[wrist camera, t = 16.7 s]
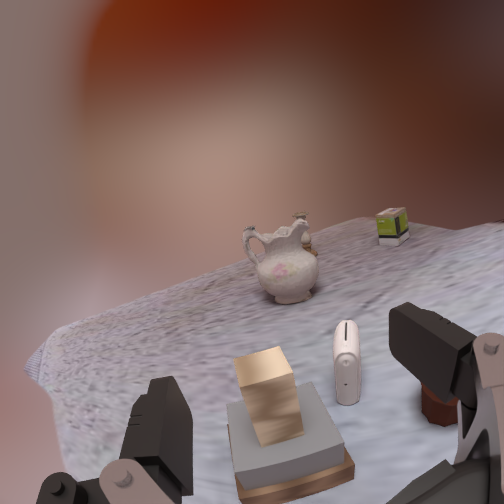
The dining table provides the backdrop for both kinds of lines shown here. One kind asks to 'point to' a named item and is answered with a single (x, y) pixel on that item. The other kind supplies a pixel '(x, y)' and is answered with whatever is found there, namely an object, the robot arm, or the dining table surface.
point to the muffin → (438, 408)
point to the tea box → (392, 226)
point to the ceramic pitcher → (284, 263)
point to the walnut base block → (298, 484)
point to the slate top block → (285, 445)
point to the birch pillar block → (270, 396)
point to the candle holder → (305, 234)
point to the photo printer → (347, 362)
